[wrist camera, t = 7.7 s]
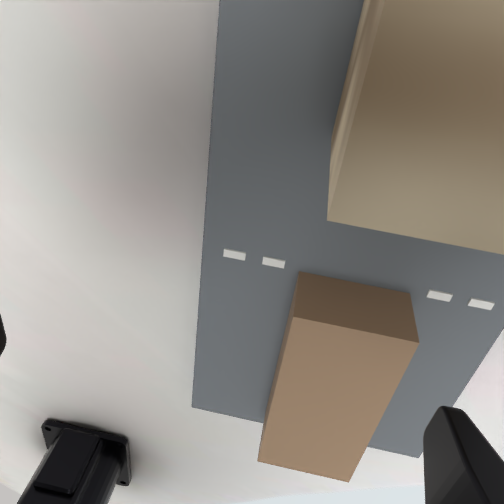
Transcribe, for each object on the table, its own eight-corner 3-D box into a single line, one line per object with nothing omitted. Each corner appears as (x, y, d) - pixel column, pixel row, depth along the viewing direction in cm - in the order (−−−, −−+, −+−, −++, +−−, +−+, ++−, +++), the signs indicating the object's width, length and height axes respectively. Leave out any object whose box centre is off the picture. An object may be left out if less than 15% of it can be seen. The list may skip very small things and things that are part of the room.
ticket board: (416, 442, 27) (426, 510, 24) (195, 393, 28) (176, 452, 25) (692, 0, 13) (809, 18, 10) (231, -71, 14) (198, -74, 11)
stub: (471, 161, 16) (529, 259, 11) (331, 136, 16) (327, 220, 11) (582, -86, 11) (758, -108, 7) (391, -113, 12) (425, -154, 7)
